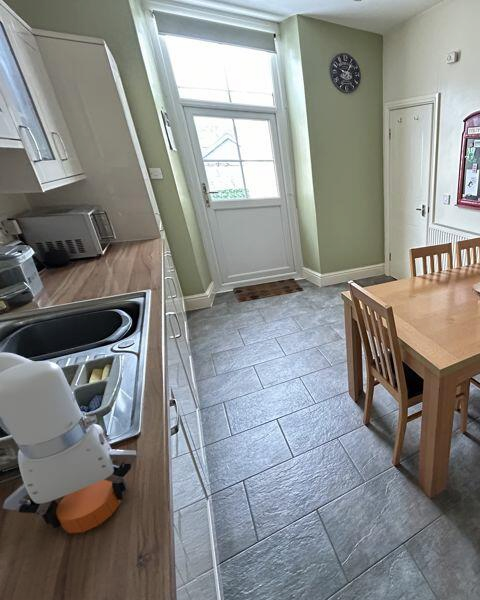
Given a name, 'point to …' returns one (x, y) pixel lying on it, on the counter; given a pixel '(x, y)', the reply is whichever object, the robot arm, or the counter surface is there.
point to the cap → (87, 507)
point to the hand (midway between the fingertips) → (91, 506)
